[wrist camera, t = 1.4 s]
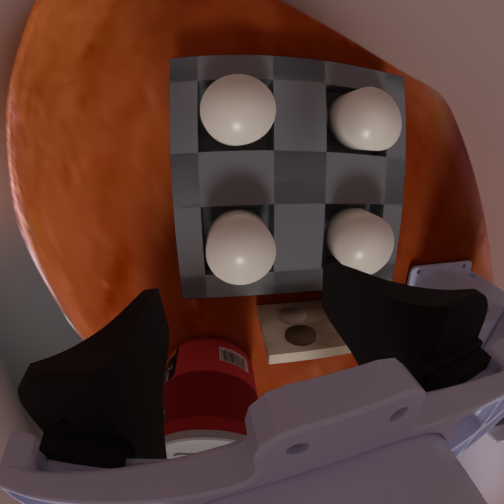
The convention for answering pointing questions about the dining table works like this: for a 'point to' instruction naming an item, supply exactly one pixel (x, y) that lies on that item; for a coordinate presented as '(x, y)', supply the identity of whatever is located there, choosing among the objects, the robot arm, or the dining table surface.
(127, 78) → the dining table surface
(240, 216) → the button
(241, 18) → the dining table surface
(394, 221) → the button board
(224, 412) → the canned food
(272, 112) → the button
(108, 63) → the dining table surface
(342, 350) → the pattern plaque
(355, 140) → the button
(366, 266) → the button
